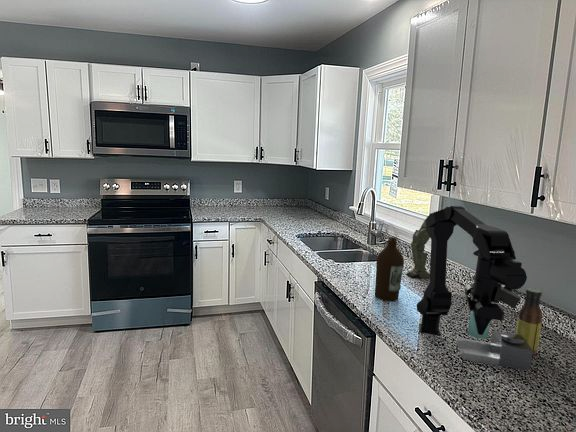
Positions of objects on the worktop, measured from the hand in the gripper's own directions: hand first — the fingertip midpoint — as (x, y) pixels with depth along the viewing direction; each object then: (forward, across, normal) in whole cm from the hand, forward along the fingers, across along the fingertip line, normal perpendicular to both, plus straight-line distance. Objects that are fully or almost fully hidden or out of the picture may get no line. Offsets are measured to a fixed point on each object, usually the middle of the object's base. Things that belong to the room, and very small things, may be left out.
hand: (478, 330), depth 110 cm
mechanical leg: (+13, +85, +8) cm, 86 cm away
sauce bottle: (+11, +16, -18) cm, 27 cm away
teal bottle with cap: (+1, 0, 0) cm, 1 cm away
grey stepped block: (+11, +9, -7) cm, 16 cm away
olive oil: (+12, +48, +24) cm, 55 cm away
